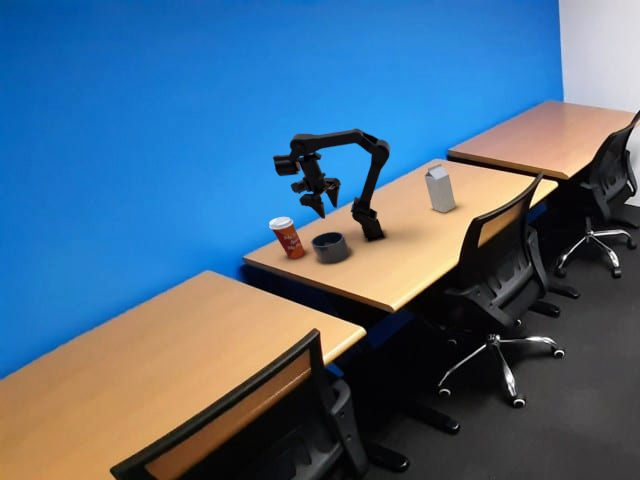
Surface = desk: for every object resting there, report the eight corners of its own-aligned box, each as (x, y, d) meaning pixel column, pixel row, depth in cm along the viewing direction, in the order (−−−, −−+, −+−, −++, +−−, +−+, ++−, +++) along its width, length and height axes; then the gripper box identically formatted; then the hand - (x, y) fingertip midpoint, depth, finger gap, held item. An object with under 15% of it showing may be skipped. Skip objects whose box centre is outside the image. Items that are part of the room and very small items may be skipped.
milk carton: (456, 207, 206) (446, 164, 193) (444, 213, 201) (433, 170, 189) (444, 203, 209) (434, 161, 196) (432, 209, 204) (421, 166, 192)
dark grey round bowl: (348, 245, 181) (341, 229, 177) (352, 258, 174) (345, 242, 169) (317, 252, 177) (309, 236, 173) (320, 266, 170) (312, 249, 165)
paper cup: (298, 260, 173) (281, 226, 164) (280, 258, 174) (262, 224, 165) (312, 250, 179) (296, 216, 169) (295, 248, 180) (278, 214, 170)
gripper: (304, 162, 173) (321, 201, 183) (275, 182, 159) (295, 224, 169) (333, 162, 173) (348, 202, 183) (307, 183, 159) (325, 224, 169)
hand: (329, 212), depth 176 cm, fingers open, 9 cm apart
